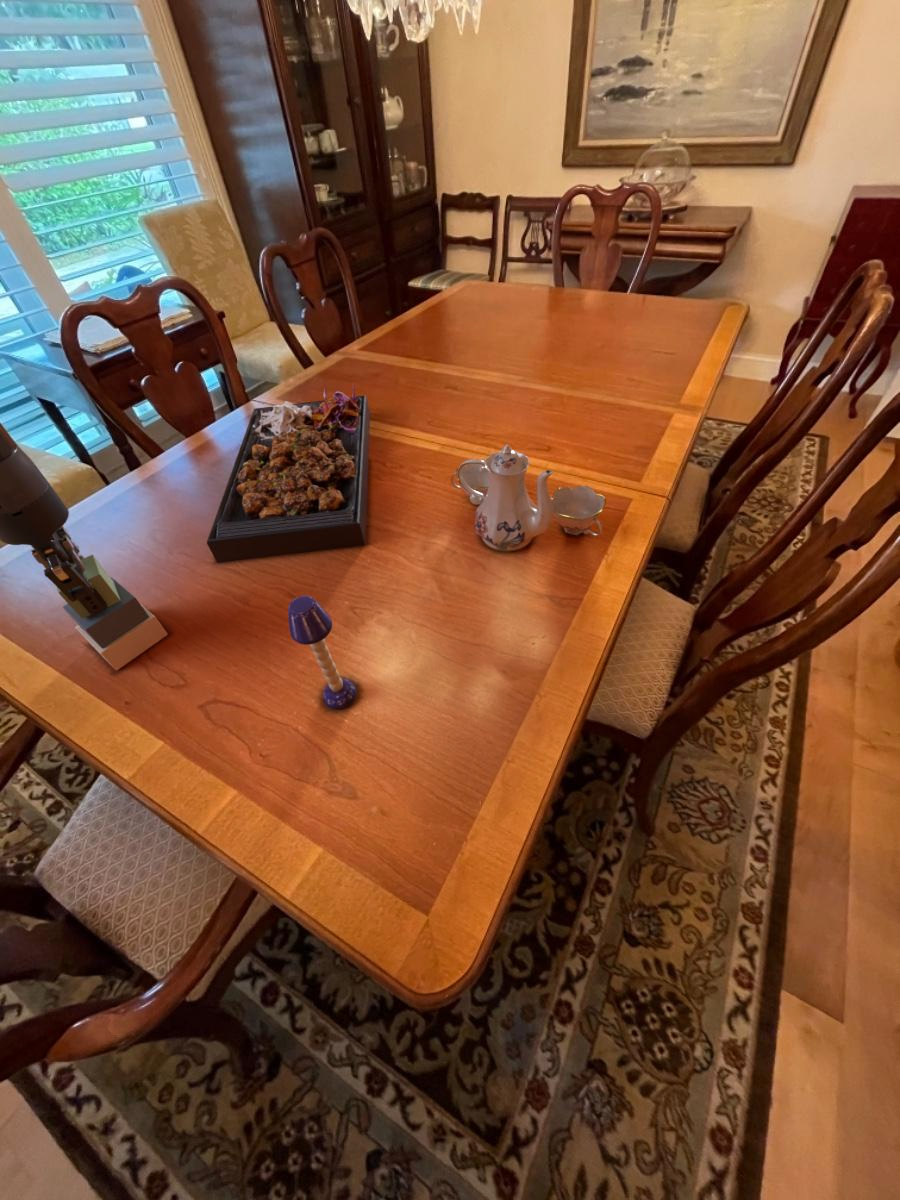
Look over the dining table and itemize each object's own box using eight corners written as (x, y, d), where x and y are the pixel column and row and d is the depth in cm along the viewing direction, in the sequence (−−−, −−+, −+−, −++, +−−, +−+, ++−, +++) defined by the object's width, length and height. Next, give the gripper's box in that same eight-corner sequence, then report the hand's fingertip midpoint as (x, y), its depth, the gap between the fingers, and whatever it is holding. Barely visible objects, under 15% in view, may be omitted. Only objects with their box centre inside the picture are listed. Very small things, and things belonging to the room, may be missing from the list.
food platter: (260, 427, 119) (244, 381, 112) (370, 414, 119) (360, 368, 112) (217, 562, 88) (190, 512, 81) (365, 545, 88) (351, 493, 81)
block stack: (116, 671, 74) (83, 634, 68) (90, 644, 78) (56, 607, 72) (168, 634, 78) (140, 596, 72) (141, 611, 82) (112, 573, 76)
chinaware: (612, 524, 89) (632, 428, 78) (580, 581, 78) (598, 479, 67) (463, 488, 99) (461, 399, 88) (417, 534, 89) (408, 439, 78)
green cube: (81, 619, 69) (57, 592, 66) (75, 598, 72) (52, 571, 69) (121, 601, 71) (100, 574, 67) (113, 581, 74) (92, 554, 70)
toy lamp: (313, 703, 67) (270, 615, 55) (332, 674, 70) (295, 584, 58) (346, 713, 66) (309, 626, 54) (364, 684, 69) (333, 594, 57)
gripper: (-32, 478, 62) (57, 582, 74) (-25, 539, 53) (75, 644, 66) (37, 454, 65) (113, 558, 77) (55, 508, 56) (137, 615, 68)
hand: (95, 597), depth 71 cm, fingers closed on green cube, 5 cm apart
